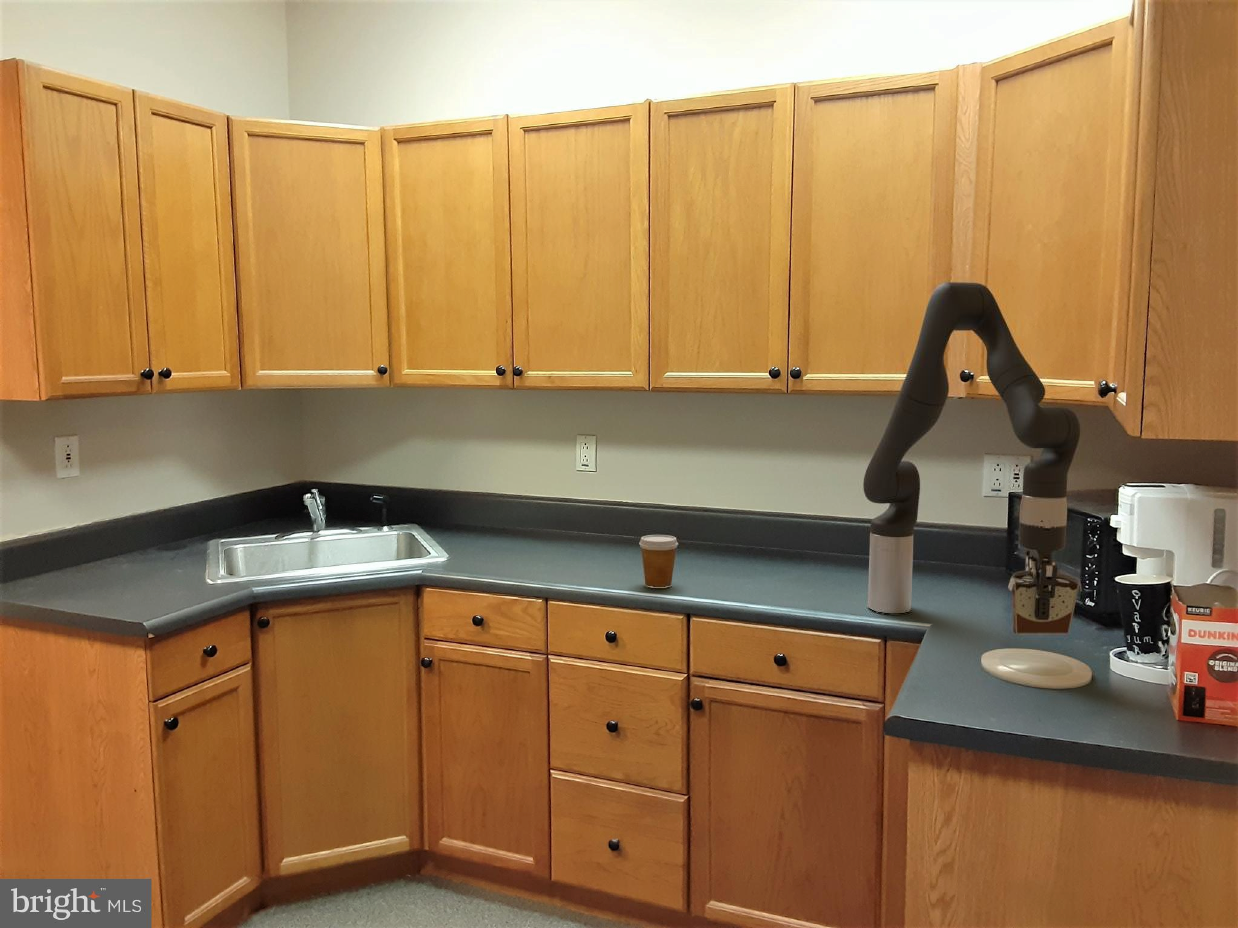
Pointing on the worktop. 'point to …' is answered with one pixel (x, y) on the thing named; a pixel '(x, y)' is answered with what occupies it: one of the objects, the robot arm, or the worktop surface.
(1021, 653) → the plate
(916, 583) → the worktop surface
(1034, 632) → the food container
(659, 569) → the disposable coffee cup
